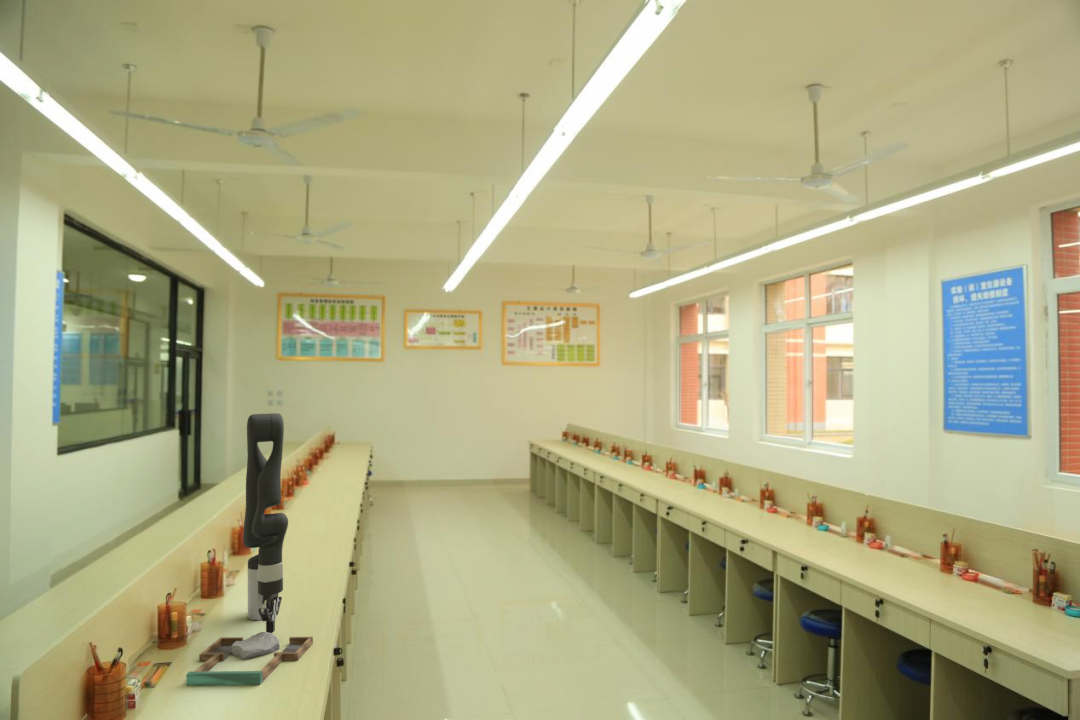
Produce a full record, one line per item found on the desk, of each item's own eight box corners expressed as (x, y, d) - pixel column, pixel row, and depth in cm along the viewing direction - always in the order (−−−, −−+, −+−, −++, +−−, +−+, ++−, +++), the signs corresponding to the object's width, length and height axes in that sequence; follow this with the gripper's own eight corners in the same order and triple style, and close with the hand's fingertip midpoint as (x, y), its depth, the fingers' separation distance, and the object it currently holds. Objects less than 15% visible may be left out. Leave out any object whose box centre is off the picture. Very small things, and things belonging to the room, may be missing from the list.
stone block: (282, 654, 207) (265, 641, 213) (284, 640, 207) (266, 626, 213) (245, 669, 198) (228, 654, 204) (246, 654, 197) (229, 639, 203)
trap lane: (220, 643, 211) (220, 634, 211) (312, 643, 211) (312, 633, 211) (169, 685, 183) (169, 674, 183) (276, 684, 183) (276, 673, 183)
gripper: (267, 571, 221) (267, 624, 220) (249, 583, 208) (249, 640, 207) (290, 571, 221) (290, 624, 220) (273, 583, 208) (273, 640, 207)
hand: (270, 632), depth 214 cm, fingers closed
